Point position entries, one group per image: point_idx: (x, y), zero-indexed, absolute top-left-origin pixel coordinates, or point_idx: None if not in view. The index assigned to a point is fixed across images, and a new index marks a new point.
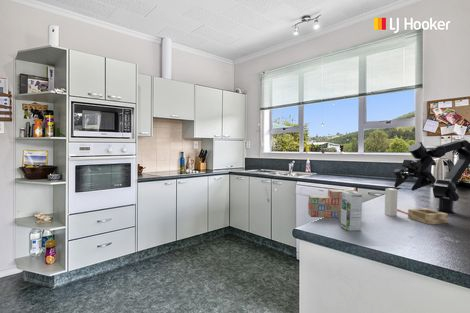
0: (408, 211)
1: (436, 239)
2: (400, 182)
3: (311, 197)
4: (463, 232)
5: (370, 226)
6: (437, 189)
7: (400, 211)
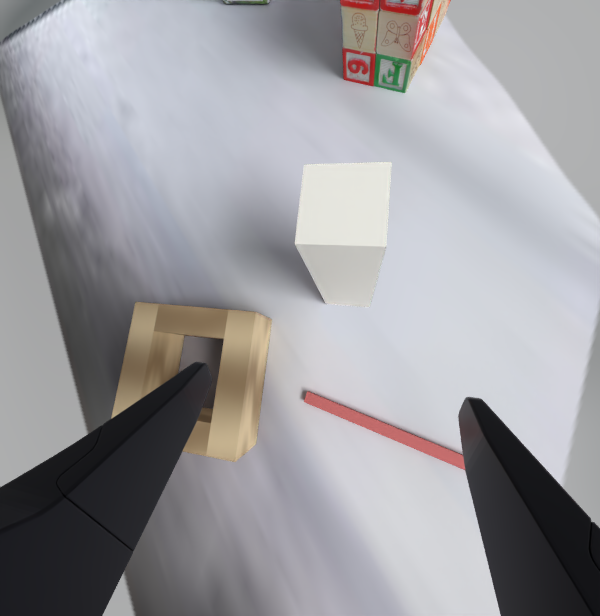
0: (259, 314)
1: (81, 164)
2: (510, 584)
3: None
4: (65, 328)
5: (245, 61)
6: None
7: (394, 427)
